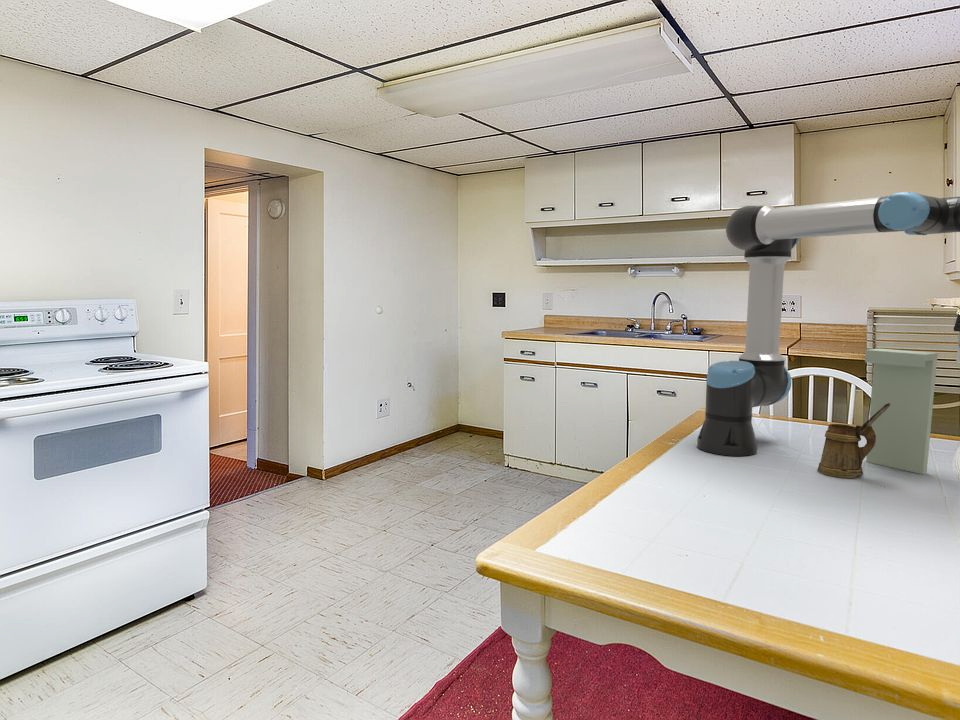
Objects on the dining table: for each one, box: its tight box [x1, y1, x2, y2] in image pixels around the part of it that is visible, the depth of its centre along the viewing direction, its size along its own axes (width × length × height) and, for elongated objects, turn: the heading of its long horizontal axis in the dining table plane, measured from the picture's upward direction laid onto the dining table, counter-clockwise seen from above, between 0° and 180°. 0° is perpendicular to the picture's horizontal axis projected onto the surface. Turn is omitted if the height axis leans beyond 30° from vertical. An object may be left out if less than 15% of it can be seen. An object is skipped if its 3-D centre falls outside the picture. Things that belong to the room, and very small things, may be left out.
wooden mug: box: [817, 403, 890, 479], centre depth 143 cm, size 9×14×18 cm, turn 45°
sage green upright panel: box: [864, 348, 939, 475], centre depth 147 cm, size 12×6×28 cm, turn 33°
